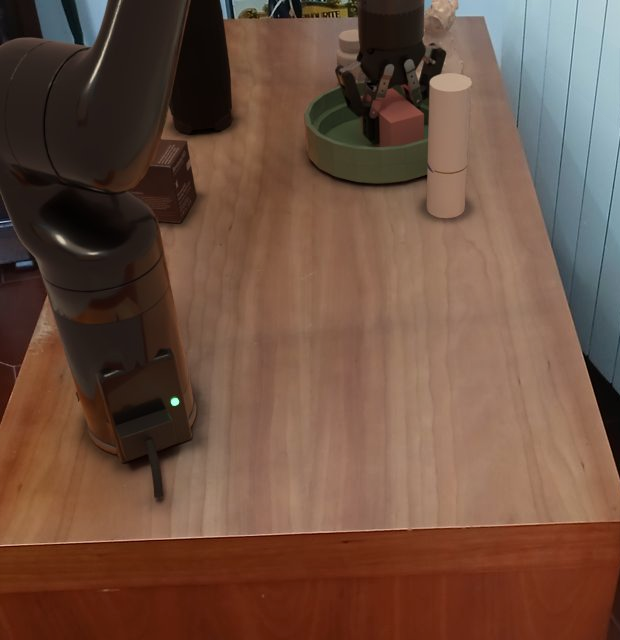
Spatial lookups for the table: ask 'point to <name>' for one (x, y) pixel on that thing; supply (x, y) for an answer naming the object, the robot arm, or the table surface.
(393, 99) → the eraser
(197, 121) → the portable speaker
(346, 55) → the pill bottle
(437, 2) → the white creature statuette
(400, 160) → the bowl
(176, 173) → the box
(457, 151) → the tube
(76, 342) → the robot arm
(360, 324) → the table surface
